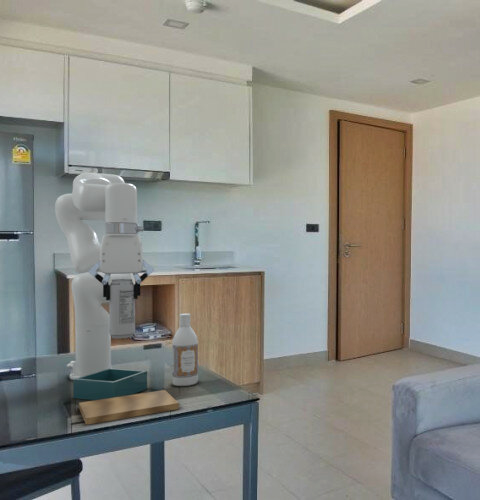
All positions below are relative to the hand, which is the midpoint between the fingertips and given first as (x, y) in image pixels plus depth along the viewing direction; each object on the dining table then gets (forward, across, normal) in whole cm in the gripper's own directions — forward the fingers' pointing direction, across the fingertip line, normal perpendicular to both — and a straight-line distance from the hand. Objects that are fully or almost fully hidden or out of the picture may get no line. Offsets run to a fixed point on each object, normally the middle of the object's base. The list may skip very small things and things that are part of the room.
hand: (122, 298), depth 139 cm
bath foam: (+26, -16, -8) cm, 31 cm away
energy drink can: (+10, 0, 0) cm, 10 cm away
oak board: (+26, -2, +12) cm, 28 cm away
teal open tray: (+26, +3, -5) cm, 26 cm away
